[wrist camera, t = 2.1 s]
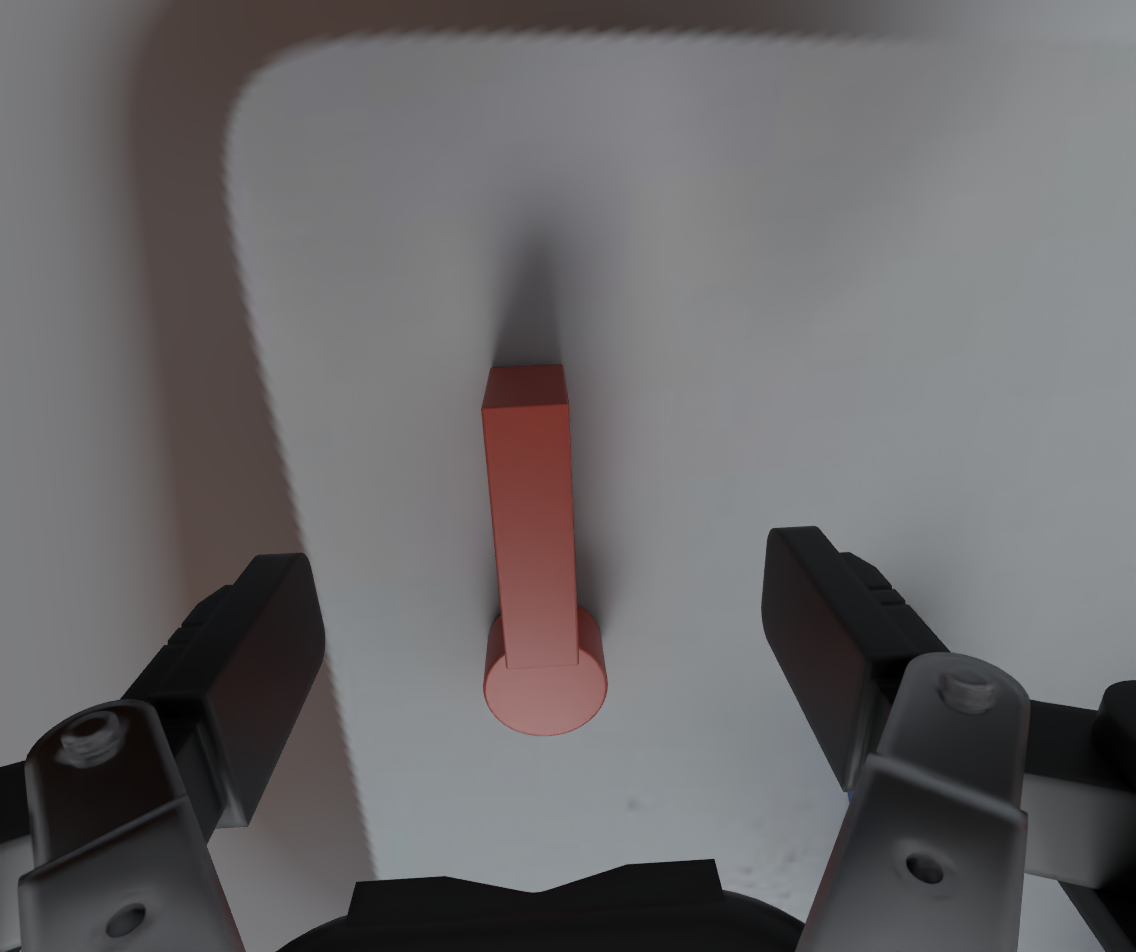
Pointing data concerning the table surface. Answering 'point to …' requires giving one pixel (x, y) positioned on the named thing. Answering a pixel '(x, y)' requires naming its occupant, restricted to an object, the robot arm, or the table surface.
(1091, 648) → the table surface
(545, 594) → the red spoon
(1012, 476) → the table surface
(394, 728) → the table surface
